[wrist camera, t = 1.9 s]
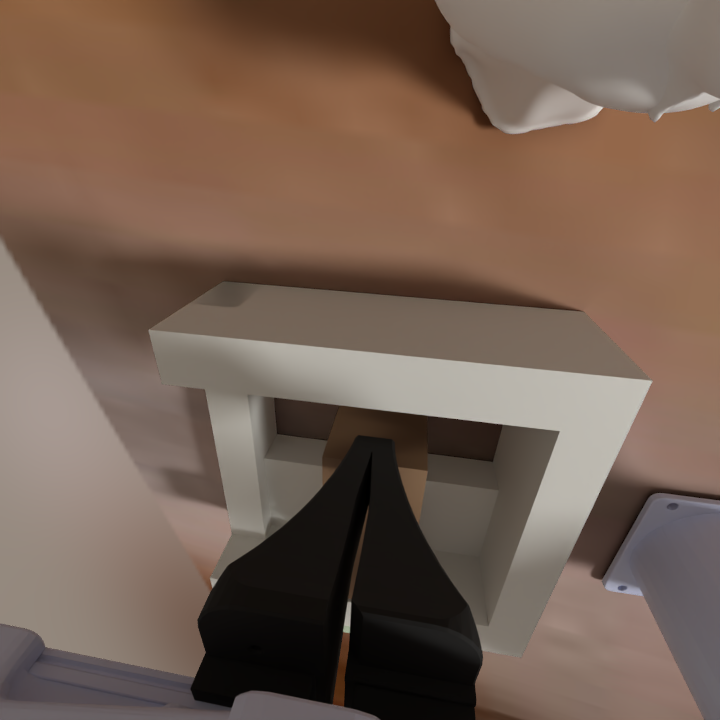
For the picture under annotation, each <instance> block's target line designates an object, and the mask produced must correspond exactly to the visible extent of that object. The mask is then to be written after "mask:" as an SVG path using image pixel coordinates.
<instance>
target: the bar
mask: <svg viewBox="0 0 720 720" xmlns="http://www.w3.org/2000/svg"><path fill="white" fill-rule="evenodd" d="M358 435H362V436H370V437H378V438H386V439H392V440H393V441H394V442H395V454H396V460H397V464H398V469H399V473H400V476H401V480H402V483H403V486H404V489H405V492H406V495H407V498H408V501H409V503H410V506H411V508H412V511H413V513H414V515H415V518H416V520H417V522H418V524H419V521H420V515H421V509H422V503H423V497H424V491H425V485H426V478H427V472H428V446H427V415H418V414H410V413H401V412H393V411H384V410H376V409H367V408H359V407H350V406H342V405H339V408H338V411H337V414H336V417H335V420H334V423H333V426H332V429H331V432H330V435H329V438H328V441H327V444H326V447H325V450H324V453H323V456H322V483H323V485H324V484H325V483H326V481H327V480H328V479H329V478H330V477H331V475H332V474H333V473H334V471H335V470H336V468H337V467H338V466H339V464H340V463H341V461H342V460H343V458H344V457H345V455H346V454H347V452H348V451H349V449H350V447H351V445H352V444H353V442H354V439H355V437H357V436H358ZM368 508H369V505H368ZM367 517H368V509H367V514H366V518H365V522H364V526H363V530H362V534H361V538H360V542H359V546H358V550H357V554H356V558H355V562H354V567H353V572H352V577H351V583H350V590H349V596H348V599H352V595H353V590H354V585H355V580H356V575H357V570H358V565H359V560H360V555H361V550H362V544H363V539H364V533H365V528H366V522H367Z"/></svg>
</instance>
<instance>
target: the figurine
mask: <svg viewBox="0 0 720 720" xmlns="http://www.w3.org/2000/svg"><path fill="white" fill-rule="evenodd" d="M435 2H436V4H437V6H438V8H439V10H440V11H441V13H442V15H443V16H444V18H445V19H446V21H447V22H448V23H449V25H450V43H451V45H452V46H453V47H454V49H455V53H456V55H458V56H459V57H460V58H461V59H462V62H463V63H464V65H465V67H466V70H467V73H468V75H469V77H470V78H471V79H472V85H473V89H474V91H475V93H476V95H477V97H478V99H479V101H480V103H481V104H482V110H483V111H484V113H485V114H487V116H488V117H489V119H490V122H491V123H492V125H493V126H495V127H497V128H498V129H499V130H501V131H502V132H504V133H507V134H521V133H526V132H529V131H531V130H539V129H543V128H547V127H555V126H560V125H563V124H575V123H579V122H582V121H586V120H588V119H591V118H593V117H594V116H596V115H597V114H598V113H599V112H600V110H602V108H603V107H605V108H610V109H616V110H621V111H628V112H636V113H648V114H649V117H650V119H651V120H652V121H653V122H656V121H657V120H658V119H659V118H660V117H661V115H662V114H663V113H670V112H678V111H685V110H690V109H693V108H697V107H701V106H704V105H707V104H709V110H710V111H712V112H714V111H715V110H717V109H719V108H720V0H435Z"/></svg>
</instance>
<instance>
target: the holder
mask: <svg viewBox="0 0 720 720" xmlns="http://www.w3.org/2000/svg"><path fill="white" fill-rule="evenodd" d="M149 334H150V339H151V343H152V347H153V351H154V355H155V359H156V363H157V367H158V371H159V375H160V379H161V383H162V384H163V385H172V386H180V387H189V388H197V389H205V392H206V398H207V403H208V408H209V414H210V419H211V424H212V430H213V435H214V440H215V446H216V451H217V457H218V462H219V467H220V473H221V478H222V483H223V489H224V494H225V499H226V505H227V510H228V516H229V521H230V526H231V532H232V535H231V537H230V539H229V541H228V543H227V545H226V547H225V549H224V551H223V553H222V555H221V557H220V559H219V561H218V563H217V565H216V567H215V569H214V571H213V573H212V575H211V577H210V580H211V584H212V588H213V587H214V585H215V584H216V582H217V581H218V579H219V577H220V576H221V574H222V573H223V571H224V570H225V569H226V567H227V566H228V565H229V564H230V563H232V562H234V561H235V560H237V559H238V558H240V557H241V556H243V555H244V554H246V553H247V552H249V551H250V550H252V549H253V548H255V547H256V546H258V545H259V544H260V543H262V542H263V541H264V540H266V539H267V538H268V537H270V536H271V535H272V534H273V533H275V532H276V531H277V530H279V529H280V528H281V527H282V526H283V525H285V524H286V523H287V522H288V521H289V520H290V519H291V518H292V517H294V516H295V515H296V514H297V513H298V512H299V511H300V510H301V509H302V508H303V507H304V506H305V505H306V504H307V503H308V502H309V501H310V500H311V499H312V498H313V497H314V496H315V494H316V493H317V492H318V491H319V490H320V489H321V488H322V486H323V483H322V456H323V453H324V450H325V447H326V444H327V441H326V440H318V439H310V438H303V437H295V436H287V435H279V434H277V428H276V416H275V405H274V398H282V399H291V400H299V401H308V402H316V403H325V404H333V405H342V406H350V407H359V408H367V409H376V410H384V411H393V412H401V413H410V414H418V415H427V416H435V417H444V418H452V419H461V420H469V421H478V422H486V423H495V424H503V426H502V430H501V434H500V437H499V441H498V445H497V448H496V452H495V456H494V459H493V462H490V461H482V460H474V459H466V458H458V457H451V456H443V455H435V454H428V472H427V478H426V485H425V491H424V497H423V503H422V509H421V515H420V521H419V526H420V529H421V530H422V532H423V534H424V536H425V538H426V540H427V542H428V544H429V546H430V547H431V549H432V551H433V553H434V554H435V556H436V558H437V559H438V561H439V563H440V565H441V566H442V568H443V569H444V571H445V572H446V574H447V575H448V577H449V578H450V580H451V581H452V583H453V584H454V586H455V587H456V588H457V590H458V591H459V593H460V594H461V595H462V597H463V598H464V599H465V601H466V602H467V603H468V605H469V607H470V610H471V612H472V615H473V618H474V621H475V624H476V627H477V631H478V634H479V638H480V643H481V647H482V651H487V652H492V653H498V654H503V655H509V656H515V657H520V658H521V657H522V655H523V653H524V651H525V649H526V647H527V644H528V642H529V640H530V638H531V636H532V634H533V632H534V630H535V628H536V625H537V623H538V621H539V619H540V617H541V615H542V613H543V611H544V609H545V606H546V604H547V602H548V600H549V598H550V596H551V594H552V592H553V590H554V587H555V585H556V583H557V581H558V579H559V577H560V575H561V573H562V571H563V569H564V566H565V564H566V562H567V560H568V558H569V556H570V554H571V552H572V550H573V547H574V545H575V543H576V541H577V539H578V537H579V535H580V533H581V531H582V528H583V526H584V524H585V522H586V520H587V518H588V516H589V514H590V512H591V509H592V507H593V505H594V503H595V501H596V499H597V497H598V495H599V493H600V490H601V488H602V486H603V484H604V482H605V480H606V478H607V476H608V474H609V472H610V469H611V467H612V465H613V463H614V461H615V459H616V457H617V455H618V453H619V450H620V448H621V446H622V444H623V442H624V440H625V438H626V436H627V434H628V431H629V429H630V427H631V425H632V423H633V421H634V419H635V417H636V415H637V412H638V410H639V408H640V406H641V404H642V402H643V400H644V398H645V396H646V394H647V391H648V389H649V387H650V385H651V383H652V380H651V379H650V378H649V377H648V376H647V375H646V374H645V373H644V372H643V371H642V370H641V369H640V368H639V367H638V366H637V365H636V364H635V363H634V362H633V361H632V360H631V359H630V358H629V357H628V356H627V355H626V354H625V353H624V351H623V350H622V349H621V348H620V347H619V346H618V345H617V344H616V343H615V342H614V341H613V340H612V339H611V338H610V337H609V336H608V335H607V334H606V333H605V332H604V331H603V330H602V329H601V328H600V327H599V326H598V325H597V324H596V323H595V322H594V321H593V320H592V319H591V318H590V317H589V316H588V315H587V314H586V313H585V312H581V311H569V310H558V309H546V308H534V307H522V306H510V305H498V304H487V303H475V302H463V301H451V300H439V299H427V298H415V297H404V296H392V295H380V294H368V293H356V292H344V291H333V290H321V289H309V288H297V287H285V286H273V285H262V284H250V283H238V282H226V281H223V282H221V283H220V284H218V285H217V286H215V287H213V288H212V289H210V290H209V291H207V292H206V293H204V294H203V295H201V296H200V297H198V298H197V299H195V300H193V301H192V302H190V303H189V304H187V305H186V306H184V307H183V308H181V309H180V310H178V311H176V312H175V313H173V314H172V315H170V316H169V317H167V318H166V319H164V320H163V321H161V322H159V323H158V324H156V325H155V326H153V327H152V328H150V329H149ZM350 619H351V599H348V602H347V609H346V616H345V622H344V626H349V627H350Z"/></svg>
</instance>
